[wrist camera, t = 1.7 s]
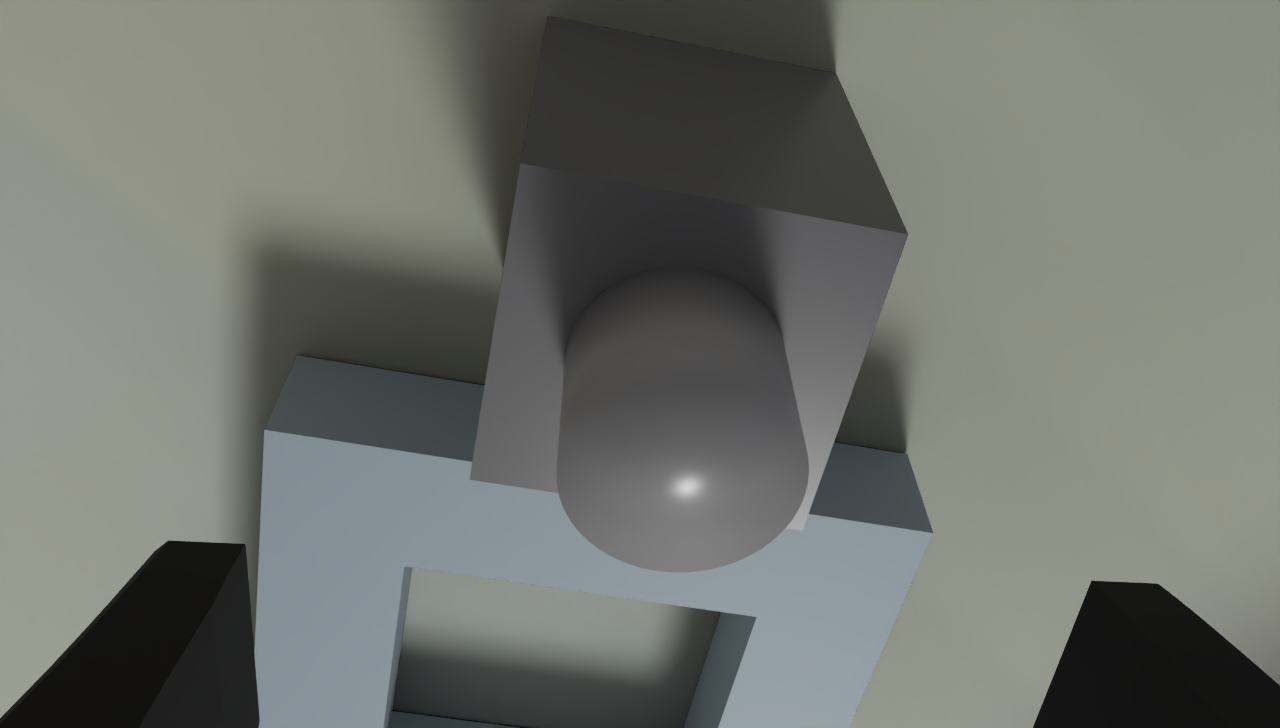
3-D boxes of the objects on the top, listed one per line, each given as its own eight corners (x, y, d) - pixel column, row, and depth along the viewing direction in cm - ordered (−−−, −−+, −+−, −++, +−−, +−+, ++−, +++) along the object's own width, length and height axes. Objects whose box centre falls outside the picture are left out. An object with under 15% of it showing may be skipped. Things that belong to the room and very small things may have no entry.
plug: (547, 15, 16) (502, 257, 10) (835, 72, 16) (954, 335, 11) (505, 275, 18) (448, 600, 12) (762, 319, 19) (825, 654, 13)
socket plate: (296, 355, 19) (264, 429, 17) (907, 454, 20) (932, 533, 18) (272, 771, 24) (245, 859, 22) (756, 830, 25) (765, 919, 23)
